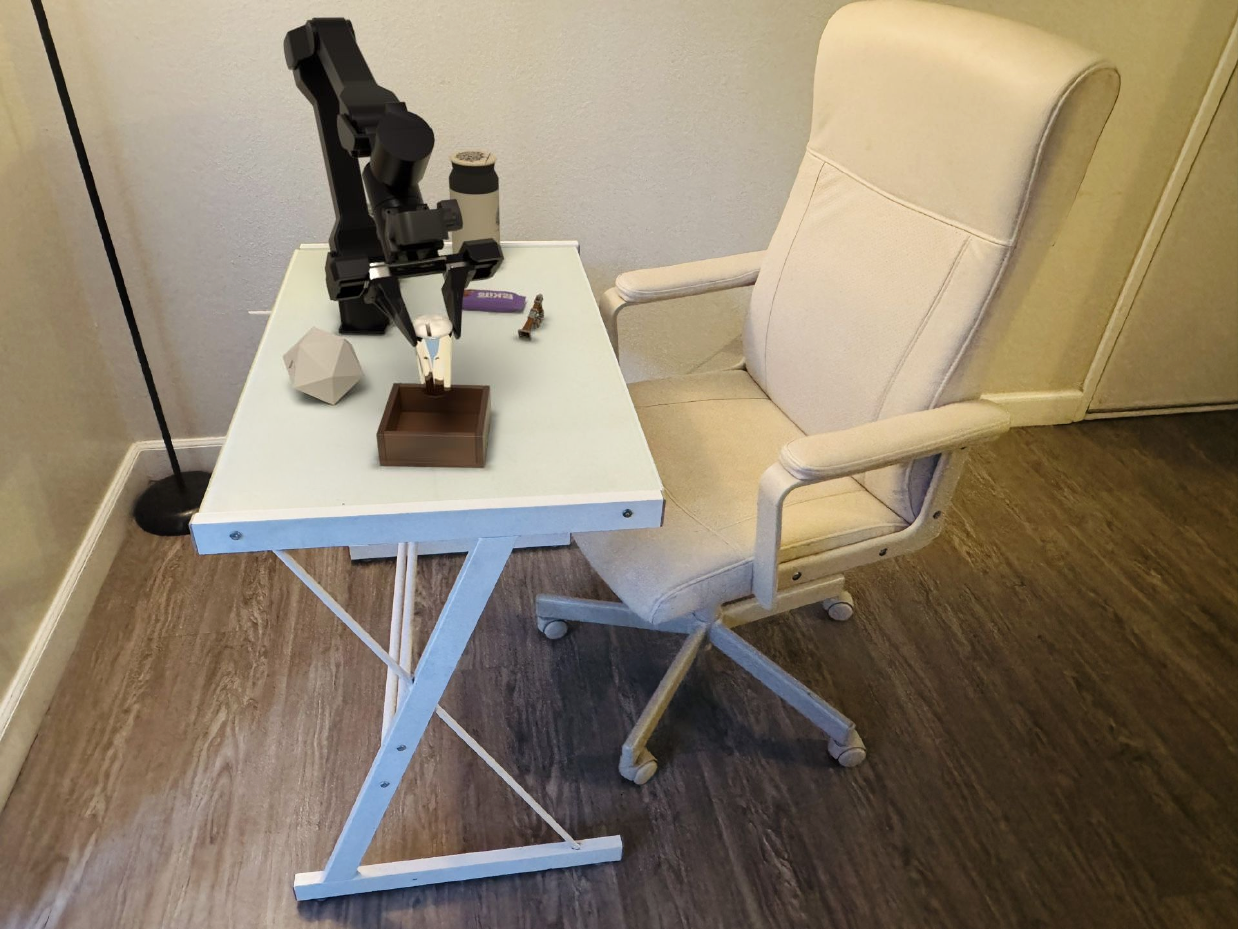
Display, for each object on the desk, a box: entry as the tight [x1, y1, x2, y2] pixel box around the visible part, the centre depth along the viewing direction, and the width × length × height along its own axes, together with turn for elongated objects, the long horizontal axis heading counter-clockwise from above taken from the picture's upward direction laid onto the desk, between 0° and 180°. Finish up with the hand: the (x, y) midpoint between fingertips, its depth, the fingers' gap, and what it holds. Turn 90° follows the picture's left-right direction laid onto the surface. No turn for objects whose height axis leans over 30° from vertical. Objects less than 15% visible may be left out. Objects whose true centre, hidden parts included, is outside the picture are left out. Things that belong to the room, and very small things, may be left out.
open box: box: [375, 382, 492, 468], centre depth 101 cm, size 12×12×4 cm
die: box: [282, 326, 365, 406], centre depth 107 cm, size 8×9×10 cm
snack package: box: [462, 288, 527, 313], centre depth 133 cm, size 12×2×5 cm
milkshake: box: [412, 313, 453, 397], centre depth 96 cm, size 4×5×10 cm
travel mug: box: [448, 150, 501, 254], centre depth 142 cm, size 8×8×18 cm
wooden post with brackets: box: [517, 293, 545, 342], centre depth 127 cm, size 2×8×4 cm, turn 165°
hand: (437, 341), depth 94 cm, fingers closed on milkshake, 4 cm apart
